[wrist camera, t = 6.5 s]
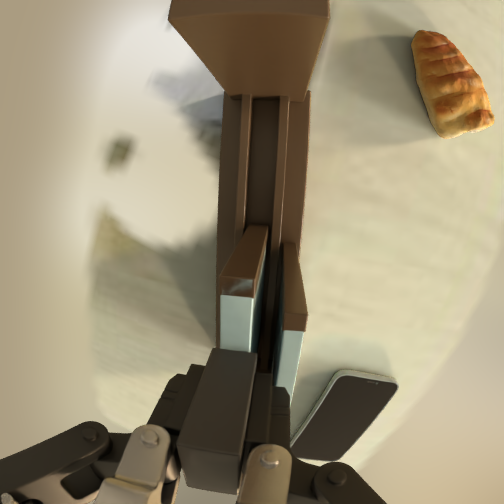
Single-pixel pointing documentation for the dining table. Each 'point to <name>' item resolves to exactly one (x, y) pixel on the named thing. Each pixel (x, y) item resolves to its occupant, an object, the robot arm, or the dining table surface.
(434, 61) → the pastry
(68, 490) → the robot arm
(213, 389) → the sash
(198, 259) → the dining table surface
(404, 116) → the dining table surface
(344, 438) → the smartphone
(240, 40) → the window frame
